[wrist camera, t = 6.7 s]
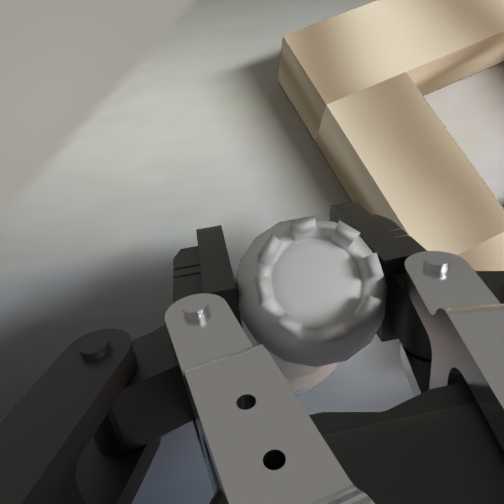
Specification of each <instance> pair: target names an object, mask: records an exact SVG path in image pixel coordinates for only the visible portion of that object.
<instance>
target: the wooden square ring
mask: <svg viewBox="0 0 504 504" xmlns="http://www.w3.org/2000/svg"><path fill="white" fill-rule="evenodd" d="M503 61H504V0H377V1H374V2H372V3H369V4H366V5H364V6H361V7H359V8H356V9H353V10H351V11H348V12H345V13H343V14H340V15H337V16H335V17H332V18H329V19H327V20H324V21H321V22H319V23H316V24H314V25H311V26H308V27H306V28H303V29H300V30H298V31H295V32H292V33H290V34H287V35H284V36H283V39H282V48H281V56H280V64H279V73H278V81H279V83H280V84H281V86H282V88H283V89H284V91H285V93H286V94H287V96H288V98H289V99H290V101H291V102H292V104H293V106H294V107H295V109H296V111H297V112H298V114H299V116H300V117H301V119H302V121H303V122H304V124H305V126H306V127H307V129H308V130H309V132H310V134H311V135H312V137H313V139H314V140H315V142H316V144H317V145H318V147H319V149H320V150H321V152H322V154H323V155H324V157H325V158H326V160H327V162H328V163H329V165H330V167H331V168H332V170H333V172H334V173H335V175H336V177H337V178H338V180H339V182H340V183H341V185H342V186H343V188H344V190H345V191H346V193H347V195H348V196H349V198H350V200H351V201H352V203H353V202H358V203H359V204H360V205H361V206H363V207H364V208H365V209H366V210H367V211H368V212H369V213H370V214H371V215H380V216H383V217H385V218H388V219H391V220H392V221H394V222H395V223H396V224H397V225H398V226H399V227H401V229H403V230H404V231H405V232H406V233H407V234H408V236H411V237H412V238H413V239H414V240H416V241H417V242H418V243H419V244H420V245H421V246H422V247H424V248H425V249H426V250H427V251H442V252H448V253H452V254H455V255H457V256H459V257H461V258H463V259H464V260H466V261H467V262H468V263H469V265H470V266H471V267H472V268H473V270H474V271H504V208H503V207H502V206H501V204H500V203H499V201H498V200H497V199H496V197H495V196H494V194H493V193H492V192H491V190H490V189H489V187H488V186H487V185H486V183H485V182H484V180H483V179H482V178H481V176H480V175H479V173H478V172H477V171H476V169H475V168H474V166H473V165H472V164H471V162H470V161H469V159H468V158H467V157H466V155H465V154H464V152H463V151H462V150H461V148H460V147H459V145H458V144H457V143H456V141H455V140H454V138H453V137H452V136H451V134H450V133H449V131H448V130H447V129H446V127H445V126H444V124H443V123H442V122H441V120H440V119H439V117H438V116H437V115H436V113H435V112H434V110H433V109H432V108H431V106H430V105H429V103H428V102H427V101H426V99H425V98H424V95H426V94H428V93H431V92H433V91H435V90H438V89H440V88H442V87H445V86H447V85H449V84H452V83H454V82H456V81H459V80H461V79H463V78H466V77H468V76H471V75H473V74H475V73H478V72H480V71H482V70H485V69H487V68H489V67H492V66H494V65H496V64H499V63H501V62H503Z"/></svg>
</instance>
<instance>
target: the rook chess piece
mask: <svg viewBox="0 0 504 504" xmlns="http://www.w3.org/2000/svg"><path fill="white" fill-rule="evenodd" d="M359 235H360V232H359V231H357V230H355V229H353V228H352V227H350V226H348V225H347V224H345V223H343V222H342V221H340V220H339V222H338V223H336V222H333V221H327V220H321V219H316V218H315V216H312V217H304V218H299V219H294V220H289V221H283V222H279V223H278V224H276V225H274V226H273V227H271V228H270V229H268V230H267V231H265V232H264V233H262V234H261V235H259V236H257V237H256V238H255V240H254V241H253V243H252V244H251V246H250V247H249V248H248V250H247V251H246V253H245V254H244V256H243V257H242V259H241V260H240V264H239V269H238V274H237V279H236V284H235V285H236V290H237V297H238V303H239V304H238V307H239V312H240V317H241V321H242V327H243V330H244V332H245V334H246V336H247V337H248V339H249V341H250V342H251V344H252V346H255V345H258V344H262V345H264V346H265V348H266V349H267V351H268V352H269V354H270V355H271V357H272V358H273V360H274V362H275V363H276V365H277V366H278V368H279V369H280V371H281V373H282V374H283V376H284V377H285V379H286V380H287V382H288V383H289V385H290V387H291V388H292V390H293V391H294V393H295V394H297V393H301V392H305V391H310V390H311V389H312V388H314V387H315V386H316V385H318V384H319V383H320V382H322V381H323V380H324V379H326V378H327V377H328V376H330V375H331V374H332V373H333V372H334V371H335V369H336V367H337V365H338V363H339V362H342V361H346V360H348V359H349V358H350V357H352V356H353V355H354V354H356V353H357V352H358V351H360V350H361V349H362V348H364V347H365V346H366V345H368V344H369V343H370V342H371V341H372V339H373V337H374V335H375V333H376V332H377V330H378V328H379V326H380V324H381V322H382V321H383V319H384V317H385V308H386V296H387V285H386V282H385V279H384V277H383V276H384V274H383V271H382V268H381V265H380V262H379V258H378V255H377V252H376V253H373V252H372V251H371V250H370V248H369V247H368V246H367V245H366V243H365V242H364V241H363V240H362V238H361V237H360V236H359Z"/></svg>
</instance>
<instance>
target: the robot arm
mask: <svg viewBox="0 0 504 504" xmlns="http://www.w3.org/2000/svg"><path fill="white" fill-rule="evenodd" d="M339 220H340V221H342V222H343V223H345V224H347V225H348V226H350V227H352V228H353V229H355V230H357V231H359V232H360V235H359V236H360V237H361V238H362V240H363V241H364V242H365V243H366V245H367V246H368V247H369V248H370V250H371V251H372V252H373V253H376V252H377V255H378V258H379V262H380V265H381V268H382V271H383V274H384V276H383V277H384V279H385V282H386V285H387V296H386V308H385V317H384V319H383V321H382V322H381V324H380V326H379V328H378V330H377V332H376V334H377V335H378V337H379V338H380V340H381V341H382V342H383V341H388V340H393V339H399V340H400V341H401V348H400V358H401V361H402V364H403V367H404V369H405V372H406V375H407V377H408V380H409V383H410V385H411V388H412V390H413V393H414V396H415V397H414V398H412V399H410V400H407V401H405V402H403V403H401V404H399V405H397V406H395V407H393V408H391V409H389V410H387V411H384V412H322V413H318V414H313V415H308V413H307V412H306V410H305V409H304V407H303V405H302V404H301V402H300V401H299V399H298V398H297V396H296V394H295V393H294V391H293V390H292V388H291V387H290V385H289V383H288V382H287V380H286V379H285V377H284V376H283V374H282V373H281V371H280V369H279V368H278V366H277V365H276V363H275V362H274V360H273V358H272V357H271V355H270V354H269V352H268V351H267V349H266V348H265V346H264V345H262V344H258V345H255V346H252V344H251V342H250V341H249V339H248V337H247V336H246V334H245V332H244V330H243V327H242V321H241V317H240V312H239V307H238V304H239V303H238V297H237V290H236V285H235V281H234V277H233V273H232V269H231V265H230V260H229V256H228V252H227V248H226V244H225V240H224V235H223V231H222V227H221V225H220V226H214V227H209V228H203V229H197V230H196V231H197V240H198V246H196V247H190V248H185V249H181V250H180V251H179V252H178V254H177V255H176V256H175V258H174V276H173V277H174V279H173V304H172V305H171V306H170V307H169V308H168V310H167V311H166V313H165V322H166V323H165V324H164V325H163V326H162V327H160V328H159V329H158V330H156V331H154V332H152V333H150V334H148V335H146V336H143V337H141V338H138V339H136V340H134V341H131V338H130V336H129V335H128V334H127V333H126V332H124V331H122V330H118V329H103V330H98V331H95V332H92V333H89V334H87V335H84V336H83V337H81V338H79V339H77V340H76V341H74V342H73V343H72V344H71V345H70V346H69V347H67V348H66V350H65V351H64V352H63V353H62V354H61V355H60V356H59V358H58V359H57V360H56V361H55V362H54V363H53V364H52V365H51V367H50V368H49V369H48V370H47V371H46V372H45V373H44V374H43V376H42V377H41V378H40V379H39V380H38V381H37V382H36V383H35V385H34V386H33V387H32V388H31V389H30V390H29V391H28V393H27V394H26V395H25V396H24V397H23V398H22V399H21V400H20V402H19V403H18V404H17V405H16V406H15V407H14V408H13V409H12V411H11V412H10V413H9V414H8V415H7V416H6V417H5V418H4V420H3V421H2V422H1V423H0V504H132V502H133V499H134V497H135V495H136V493H137V491H138V489H139V487H140V485H141V483H142V481H143V479H144V476H145V474H146V472H147V470H148V468H149V466H150V464H151V462H152V460H153V458H154V456H155V454H156V451H157V449H158V447H159V444H160V440H161V436H162V435H164V434H166V433H168V432H170V431H172V430H174V429H176V428H178V427H180V426H182V425H184V424H186V423H188V422H190V421H192V423H193V426H194V429H195V432H196V435H197V438H198V442H199V445H200V448H201V451H202V454H203V457H204V461H205V464H206V467H207V470H208V473H209V477H210V480H211V483H212V487H213V490H214V494H215V495H214V497H213V498H212V500H211V502H210V504H504V271H474V270H473V268H472V267H471V266H470V265H469V263H468V262H467V261H466V260H464V259H463V258H461V257H459V256H457V255H455V254H452V253H448V252H442V251H427V250H426V249H425V248H424V247H422V246H421V245H420V244H419V243H418V242H417V241H416V240H414V239H413V238H412V237H411V236H408V234H407V233H406V232H405V231H404V230H403V229H401V227H399V226H398V225H397V224H396V223H395V222H394V221H392V220H391V219H388V218H385V217H383V216H380V215H371V214H370V213H369V212H368V211H367V210H366V209H365V208H364V207H363V206H361V205H360V204H359V203H358V202H353V203H347V204H341V205H335V206H332V207H331V210H330V221H333V222H336V223H338V222H339Z"/></svg>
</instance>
